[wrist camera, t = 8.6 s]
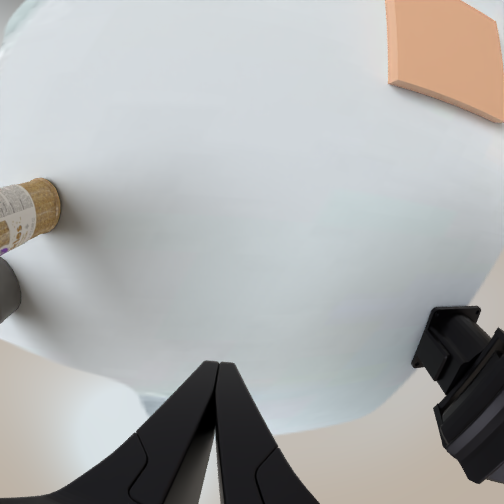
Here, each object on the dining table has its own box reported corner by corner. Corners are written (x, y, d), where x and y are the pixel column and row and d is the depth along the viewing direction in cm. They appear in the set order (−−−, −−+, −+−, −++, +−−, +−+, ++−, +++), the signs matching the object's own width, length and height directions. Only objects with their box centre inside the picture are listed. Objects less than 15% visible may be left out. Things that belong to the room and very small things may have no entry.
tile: (380, -20, 14) (483, 26, 14) (385, 84, 17) (490, 122, 17) (389, -31, 12) (496, 21, 12) (397, 79, 15) (505, 122, 15)
